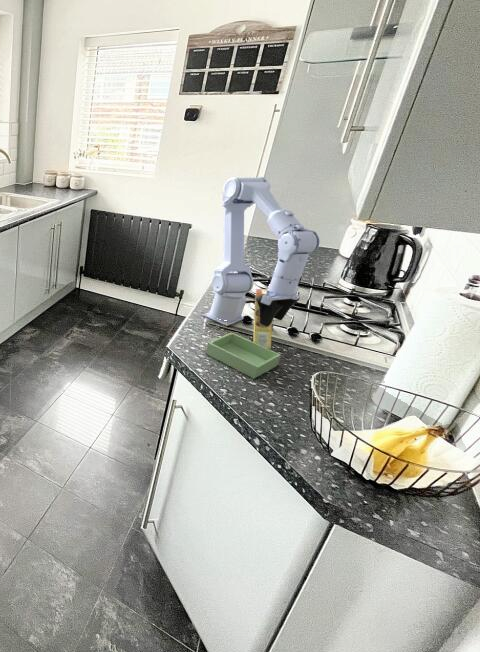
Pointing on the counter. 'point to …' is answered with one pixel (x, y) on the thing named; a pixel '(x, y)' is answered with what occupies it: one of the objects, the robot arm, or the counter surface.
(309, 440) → the counter surface
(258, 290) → the candy box
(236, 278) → the robot arm
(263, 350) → the tray
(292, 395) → the counter surface
